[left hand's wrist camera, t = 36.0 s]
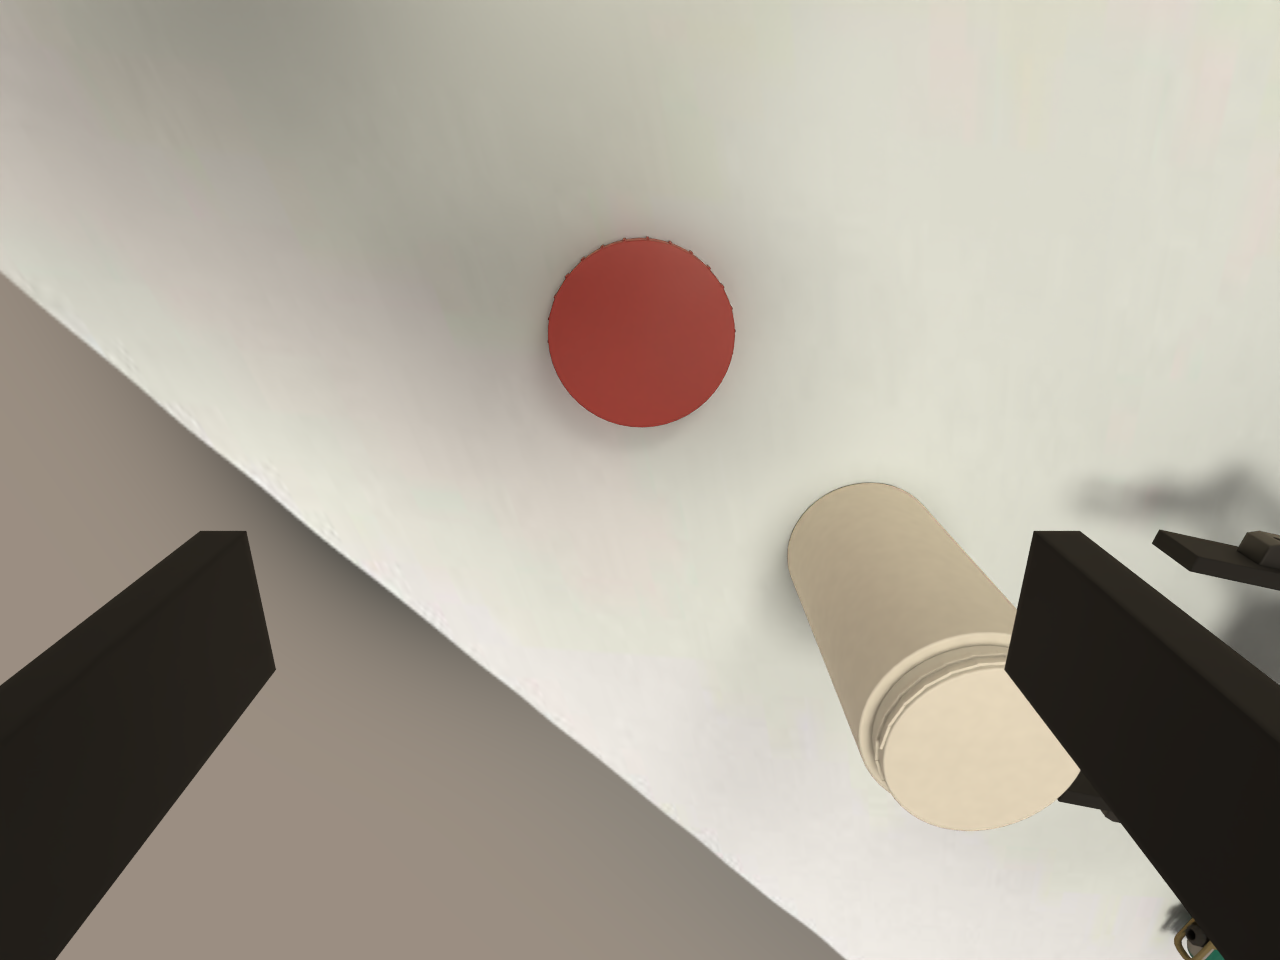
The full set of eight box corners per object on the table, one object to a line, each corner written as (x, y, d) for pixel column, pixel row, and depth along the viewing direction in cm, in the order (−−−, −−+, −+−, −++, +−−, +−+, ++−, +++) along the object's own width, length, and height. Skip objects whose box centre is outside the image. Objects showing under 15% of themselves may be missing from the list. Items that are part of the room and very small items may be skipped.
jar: (956, 495, 42) (1143, 675, 26) (910, 624, 45) (1053, 854, 29) (807, 471, 41) (909, 640, 26) (771, 603, 44) (842, 826, 29)
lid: (514, 300, 38) (508, 305, 36) (675, 198, 36) (676, 198, 34) (611, 449, 41) (610, 460, 39) (764, 362, 39) (769, 369, 37)
